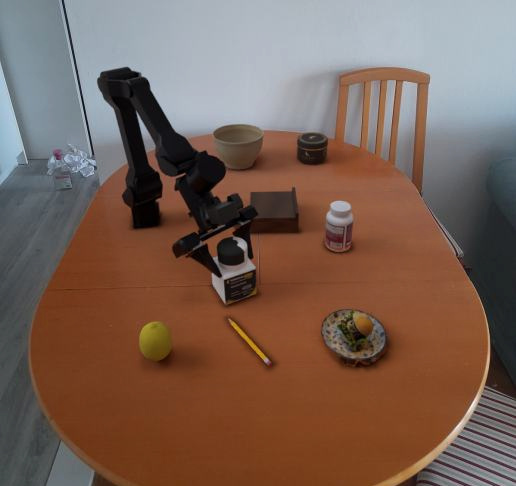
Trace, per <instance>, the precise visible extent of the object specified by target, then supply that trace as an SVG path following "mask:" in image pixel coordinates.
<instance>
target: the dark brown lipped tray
mask: <svg viewBox="0 0 516 486" xmlns="http://www.w3.org/2000/svg"><path fill="white" fill-rule="evenodd" d="M249 195H250V196H249V205H251V206H253V207H255V208H256V210H257V212H258V214H259V215H258V216H256V217H255V218H253V219H254V222H253V223H252V224H251V228H250V234H285V233H287V234H289V233H290V234H291V233H293V234H294V233H296V234H297V233H299V226H300V225H299V224H300V223H299V222H300V212H299V205H298V198H297V191H296V187H295V186H292V187H291V190H288V191H287V190H286V191H285V190H282V191H277V190H275V191H250V193H249ZM253 219H252V220H253Z"/></svg>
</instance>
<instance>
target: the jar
mask: <svg viewBox="0 0 516 486" xmlns="http://www.w3.org/2000/svg"><path fill="white" fill-rule="evenodd" d="M296 139H297V140H296V146H297V147H296V155H297V159H298V160H299V162H301V163H303V164H305V165H320V164H322V163H324V162H325V161H326V158H327V156H328V146H329V138H328V136H327V135H326V134H323V133H321V132H315V131H314V132H313V131H312V132H311V131H310V132H309V131H307V132H304V133H301V134H299V135H298V136H297V138H296Z"/></svg>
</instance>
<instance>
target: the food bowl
mask: <svg viewBox="0 0 516 486" xmlns="http://www.w3.org/2000/svg"><path fill="white" fill-rule="evenodd" d="M320 334H321V336H322V338H323V341H324V342H325V345H326V346H327V347H328V348H329V349H330V352H332V353H333V354H334V355H336V356H339V357H340V358H341V359H342V363H343V365H344V366H350V367H356V365H357V363H358V362H360V363H361V364H362V365H365V366H369V365H372V364H374V363H375V362H376V361H377V360H379V359H380V357H381V356H384V354H385V353H386V349H387V343H388V336H387V331H386V329H385V328H384V325H383V324H382V323H381V322H380V320H378V319H377V318H376V317H375V316H374V315H372V313H368V312H365V311H362V310H360V309H355V308H354V309H351V308H344V309H338V310H335V311H333V312H331V313H330V314H328V315H327V316H326V317H325V318H324V319H323V321H322V324H321V331H320Z"/></svg>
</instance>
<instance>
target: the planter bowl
mask: <svg viewBox="0 0 516 486" xmlns="http://www.w3.org/2000/svg"><path fill="white" fill-rule="evenodd" d="M264 134H265V133H264V130H263V129H262V128H260V127H259V126H256V125H253V124H247V123H233V124H226V125H222V126H219V127H217V128H216V129H214V130H213V131H212V139H213V144H214V149H215V151H216V153H217V155H218V156H219V159H220V160H221V161H223V163H224V165H225V167H226V168H228V169H231V170H246V169H250V168H251V167H252V166H253V165H254V163H255V161H256V159H257V158H258V156H259V155H260V152H261V151H262V147H263V143H264V136H265V135H264Z"/></svg>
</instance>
